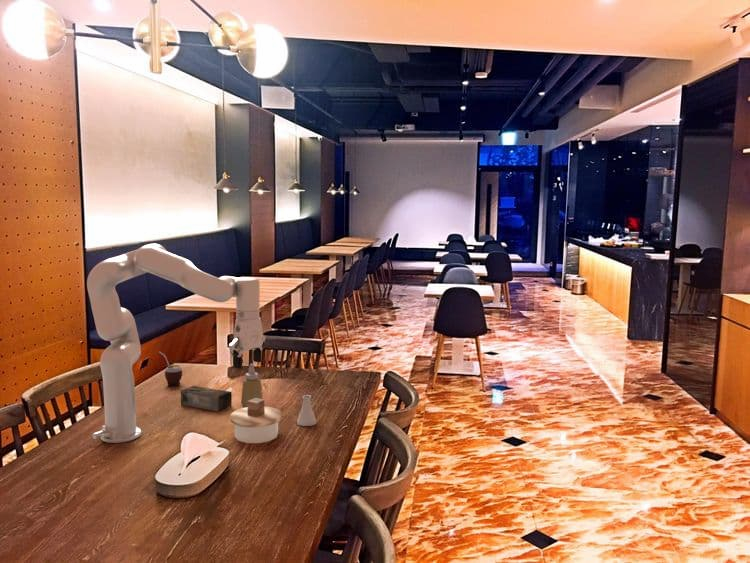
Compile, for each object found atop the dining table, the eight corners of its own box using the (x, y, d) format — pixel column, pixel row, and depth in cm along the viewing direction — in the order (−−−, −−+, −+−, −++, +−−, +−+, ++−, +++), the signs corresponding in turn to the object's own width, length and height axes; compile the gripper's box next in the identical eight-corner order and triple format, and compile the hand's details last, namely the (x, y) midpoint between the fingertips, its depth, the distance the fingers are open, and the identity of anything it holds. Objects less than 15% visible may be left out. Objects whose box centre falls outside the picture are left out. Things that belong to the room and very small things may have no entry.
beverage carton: (194, 399, 247) (193, 383, 246) (233, 406, 239) (232, 390, 238) (180, 405, 240) (179, 388, 239) (219, 413, 232) (219, 396, 231)
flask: (313, 427, 218) (313, 400, 217) (293, 425, 219) (293, 398, 218) (319, 420, 225) (319, 394, 224) (300, 418, 226) (300, 392, 225)
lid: (259, 431, 198) (259, 412, 197) (219, 421, 206) (219, 403, 205) (291, 415, 213) (291, 397, 212) (252, 406, 221) (252, 389, 220)
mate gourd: (186, 384, 265) (185, 350, 263) (171, 389, 258) (170, 354, 256) (174, 381, 269) (173, 347, 267) (159, 386, 262) (158, 351, 260)
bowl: (259, 446, 201) (259, 428, 200) (226, 437, 208) (226, 420, 207) (285, 432, 213) (285, 415, 212) (253, 424, 220) (253, 408, 219)
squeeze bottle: (265, 407, 238) (265, 362, 235) (259, 414, 230) (259, 367, 227) (244, 406, 238) (244, 361, 236) (238, 413, 230) (237, 366, 228)
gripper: (238, 320, 196) (238, 372, 198) (273, 312, 211) (272, 361, 213) (221, 317, 200) (221, 369, 202) (256, 309, 215) (255, 357, 217)
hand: (247, 364), depth 208 cm, fingers open, 9 cm apart
